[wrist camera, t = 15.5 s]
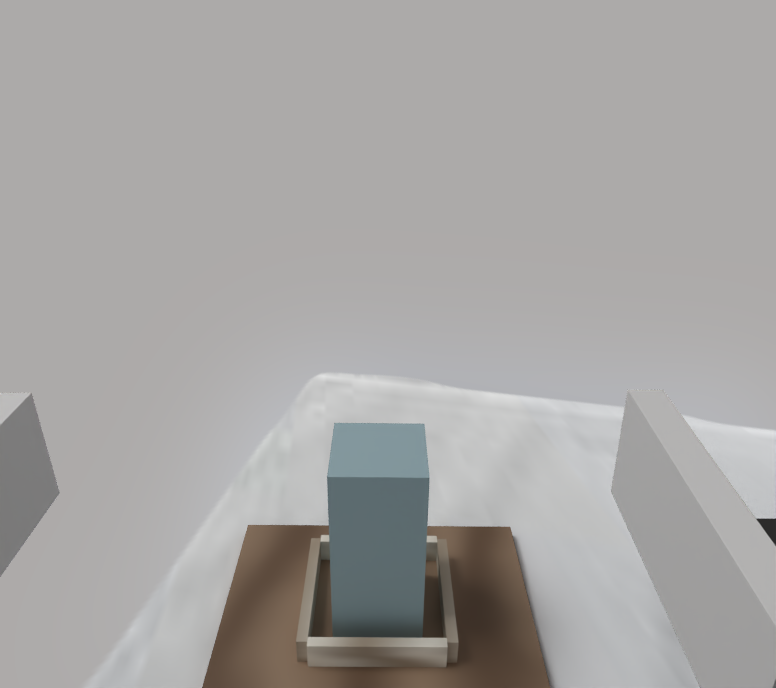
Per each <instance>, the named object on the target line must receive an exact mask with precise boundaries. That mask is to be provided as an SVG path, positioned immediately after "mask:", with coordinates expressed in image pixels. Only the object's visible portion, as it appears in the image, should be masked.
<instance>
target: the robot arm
mask: <svg viewBox="0 0 776 688" xmlns="http://www.w3.org/2000/svg"><path fill="white" fill-rule="evenodd" d="M611 492H612V495H613V497H614V499H615V501H616V503H617V506H618V508H619V510H620V512H621V514H622V517H623V519H624V521H625V523H626V525H627V528H628V530H629V532H630V534H631V536H632V539H633V541H634V543H635V545H636V547H637V550H638V552H639V554H640V556H641V558H642V561H643V563H644V565H645V567H646V569H647V572H648V574H649V576H650V578H651V580H652V582H653V585H654V587H655V589H656V591H657V593H658V596H659V598H660V600H661V602H662V604H663V607H664V609H665V611H666V613H667V615H668V618H669V620H670V622H671V624H672V626H673V629H674V631H675V633H676V635H677V637H678V640H679V642H680V644H681V646H682V648H683V651H684V653H685V655H686V657H687V659H688V662H689V664H690V666H691V668H692V670H693V673H694V675H695V677H696V679H697V681H698V684H699V686H700V688H776V519H756V518H755V517H754V515H753V514H752V513H751V511H750V510H749V508H748V507H747V506H746V504H745V503H744V501H743V500H742V499H741V497H740V496H739V494H738V493H737V492H736V490H735V489H734V488H733V486H732V485H731V483H730V482H729V481H728V479H727V478H726V476H725V475H724V474H723V472H722V471H721V469H720V468H719V467H718V465H717V464H716V463H715V461H714V460H713V458H712V457H711V456H710V454H709V453H708V451H707V450H706V449H705V447H704V446H703V444H702V443H701V442H700V440H699V439H698V437H697V436H696V435H695V433H694V432H693V431H692V429H691V428H690V426H689V425H688V424H687V422H686V421H685V419H684V418H683V417H682V415H681V414H680V413H679V411H678V410H677V408H676V407H675V406H674V404H673V403H672V401H671V400H670V399H669V397H668V396H667V394H666V393H665V392H664V390H628V392H627V398H626V404H625V410H624V416H623V422H622V428H621V434H620V440H619V446H618V452H617V458H616V464H615V470H614V476H613V482H612V488H611ZM58 494H59V489H58V486H57V482H56V479H55V475H54V471H53V468H52V464H51V461H50V457H49V454H48V450H47V447H46V443H45V439H44V436H43V432H42V429H41V425H40V422H39V418H38V414H37V411H36V408H35V404H34V400H33V397H32V393H0V577H1V575H2V574H3V572H4V571H5V570H6V568H7V567H8V565H9V564H10V562H11V561H12V559H13V558H14V557H15V555H16V554H17V552H18V551H19V550H20V548H21V547H22V545H23V544H24V543H25V541H26V540H27V538H28V537H29V536H30V534H31V533H32V531H33V530H34V528H35V527H36V526H37V524H38V523H39V521H40V520H41V518H42V517H43V516H44V514H45V513H46V511H47V510H48V508H49V507H50V506H51V504H52V503H53V502H54V500H55V499H56V497H57V496H58Z"/></svg>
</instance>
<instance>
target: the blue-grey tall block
mask: <svg viewBox="0 0 776 688" xmlns="http://www.w3.org/2000/svg"><path fill="white" fill-rule="evenodd" d="M327 485H328V514H329V544H330V573H331V602H332V632H333V637H391V638H422V635H423V613H424V590H425V567H426V544H427V521H428V498H429V468H428V458H427V447H426V437H425V426H424V424H389V423H334V430H333V438H332V445H331V453H330V460H329V468H328V475H327Z"/></svg>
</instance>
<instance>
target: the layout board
mask: <svg viewBox="0 0 776 688" xmlns="http://www.w3.org/2000/svg"><path fill="white" fill-rule="evenodd" d="M202 688H550V685H549V681H548V677H547V673H546V669H545V665H544V661H543V657H542V653H541V649H540V645H539V641H538V637H537V633H536V629H535V625H534V621H533V617H532V613H531V609H530V604H529V600H528V596H527V592H526V588H525V584H524V580H523V576H522V572H521V568H520V564H519V560H518V556H517V552H516V548H515V544H514V540H513V536H512V532H511V528H510V527H454V526H427V544H426V567H425V590H424V613H423V635H422V638H391V637H333V632H332V602H331V573H330V544H329V526H314V525H248V527H247V531H246V534H245V538H244V542H243V545H242V549H241V552H240V556H239V559H238V563H237V566H236V570H235V573H234V577H233V581H232V584H231V588H230V591H229V595H228V598H227V602H226V605H225V609H224V612H223V616H222V620H221V623H220V627H219V630H218V634H217V637H216V641H215V644H214V648H213V651H212V655H211V659H210V662H209V666H208V669H207V673H206V676H205V680H204V683H203V687H202Z"/></svg>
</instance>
